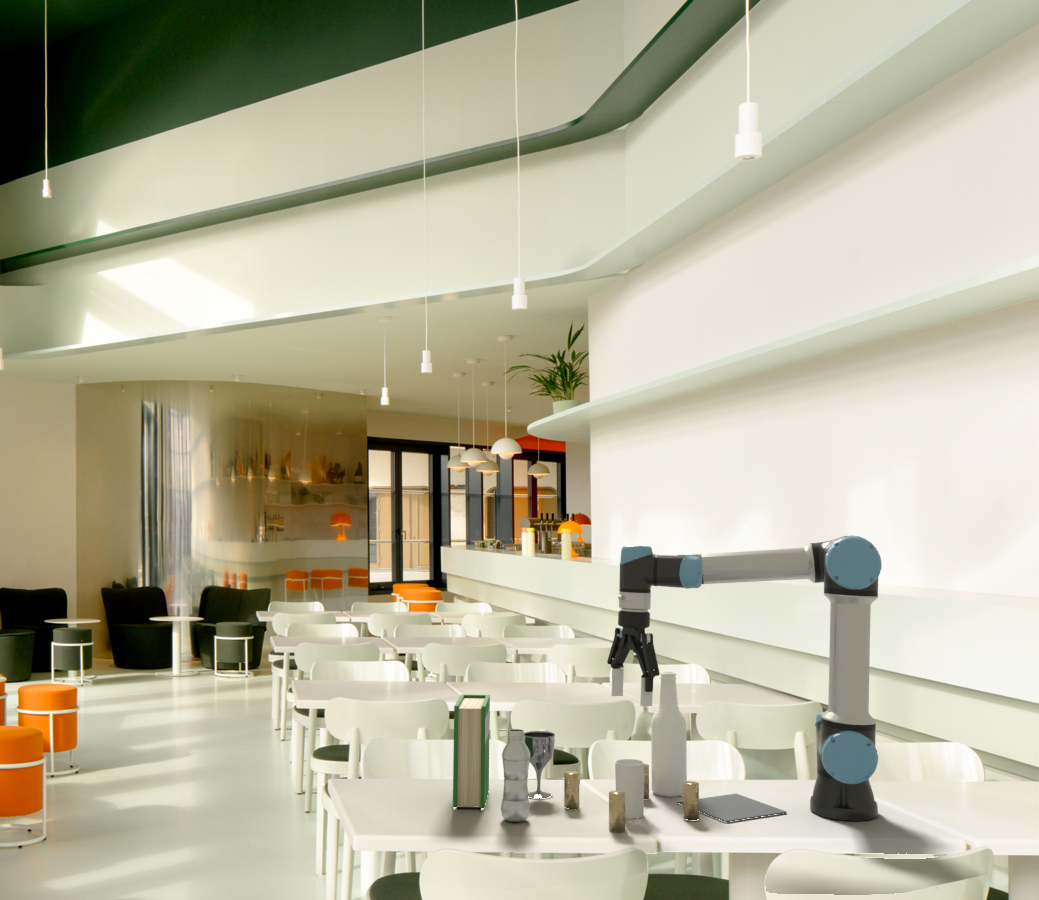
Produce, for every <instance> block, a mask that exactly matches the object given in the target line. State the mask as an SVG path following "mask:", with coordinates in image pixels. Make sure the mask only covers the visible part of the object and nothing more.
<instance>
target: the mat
mask: <svg viewBox="0 0 1039 900" xmlns="http://www.w3.org/2000/svg"><path fill="white" fill-rule="evenodd" d="M678 803H680V804H682V805H683V800H682V801H681V800H680V801H677V804H678ZM682 805H681V806H682ZM699 811H700V812H702V813H705V814H707V815H709V816H712V817H714V818H717V819H720V820H722V821H725V822H730V821H735V820H742V819H747V818H755V817H761V816H768V815H774V814H782V815H784V814H783V813H788V812H787V810H784V809H780V808H777V807H776V806H775V807H774V806H772V805H769V804H767V803H764V802H760V801H759V800H756V799H752V798H750V797H747V796H744V795H741V794H739V793H731V794H730V793H729V794H724V795H715V796H709V797H702V798H699ZM709 816H708V817H709ZM714 818H713V819H714Z"/></svg>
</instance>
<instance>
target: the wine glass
mask: <svg viewBox="0 0 1039 900" xmlns="http://www.w3.org/2000/svg"><path fill="white" fill-rule="evenodd" d="M524 736H525V739H523V741H524V743H525V744H526V746H527V747H528V749H529V751H530V762H529V764H531V766H532V767H533V769H534V770H535V774H536V791H532V792H528V796H529V797H532V798H539V799H540V798H547V797H549V796H551V794H552V793H549V792H545V791H542V790H541V779H542V773H543V771H544V768H545V767H546V766H547V765H548V764H549V762H550V761H551V759H552V758H553V755H554V751H555V745H556V743H555V741H556V735H555V733H554V732H552V731H545V730H533V731H526V732H525V731H524Z"/></svg>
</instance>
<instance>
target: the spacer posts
mask: <svg viewBox="0 0 1039 900" xmlns="http://www.w3.org/2000/svg"><path fill="white" fill-rule="evenodd" d="M563 773H564V774H563V776H564V777H563V778H564V779H563V785H564V786H563V787H564V788H563V789H564V790H563V792H564V793H563V795H564V796H563V798H564V799H563V802H564V803H563V808H564V807H566V808H569V809H576V810H578V808H579V809H580V772H579V771H575V770H573V771H571V770H570V771H569V770H568V771H565V772H563ZM644 799H648V800H649V799H650V765H649V764H648V763H644ZM699 799H700V783H699V782H697V781H693V780H691V781H690V780H687V781H685V782H683V796H682V801H683V806H682V811H683V812H682V813H683V814H682V816H683V817H682V818H684V819H688V820H697V819H699V820H700V813H699ZM569 809H568V810H569ZM684 819H683V820H684ZM626 829H627V828H626V818H625V792H623V791H616V790H609V792H608V831H609V832H611V833H615V834H617V833H618V834H621V833H625V832H626Z"/></svg>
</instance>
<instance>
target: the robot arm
mask: <svg viewBox="0 0 1039 900" xmlns="http://www.w3.org/2000/svg"><path fill="white" fill-rule="evenodd" d="M620 551H621V552H620V561H619V562H620V563H619V589H618V591H619V593H618V595H619V596H618V607H619V609H621V610H618V615H617V616H618V617H617V619H618V620H617V624H618V626H619V627H615V629H614V636H613V641H612V644H611V648H610V650H609V654H608V658H607V661H606V662H607V664H608V665H610V668H612V670H611V671H612V675H611V676H612V677H611V680H612V681H611V696H612V697H623V696H624V673H625V672H624V671H625V670H624V668H625V666H624V663H625V661H626V659H627V658H628V655H629V653H630V651H632V652H633V653H634V654H635V655H636V658H637V661H638V663H639V666H640V669H641V673H642V675H641V676H640V705H639V706H640V707H652V706H653V696H654V695H653V692H654V691H653V690H654V678H655V677H658V676H660V675H661V674H660V669H659V664H658V660H657V655H656V649H655V645H654V635H653V633H646V629H647V628H649V627H650V625H651V624H650V623H651V613H650V612H649V611H650V609H651V601H652V599H651V596H652V595H651V594H652V590H651V588H652V587H665V588H667V587H668V588H680V589H686V590H687V589H699V588H701V586H702V585H712V584H713V585H714V584H716V585H717V584H735V583H751V582H752V583H754V582H756V583H757V582H772V581H792V580H794V581H795V580H808V581H810V582H812V583H813V584H817V583H818V584H819V583H823V595H824V596H825V597H826V598H827V600H829V602H830V611H829V612H830V614H829V615H830V617H829V619H830V622H829V652H828V653H829V655H828V656H829V657H828V661H829V663H828V702H827V703H828V704H827V705H828V707H827V709H826V710H825V711H821V712H818V713H816V716H815V721H814V722H815V723H814V726H815V736H816V737H815V741H816V744H815V745H816V780H815V784H814V785H813V787H814V788H813V792H812V796H810V799H809V807H810V809H809V810H810V811H811V812H812V813H813V812H814V813H813V814H815V815H817V814H818V815H817V816H820V815H821V816H820V817H823V818H826V817H827V818H826V819H831V818H832V820H837V819H838V820H840V821H846V820H849V822H861V821H862V822H864V820H865V821H871V820H874V819H877V818H878V816H879V807H878V803H877V801H876V799H875V796H874V791H873V790H872V786H871V782H870V778H871V777H872V776H873V775H874V774H875V772H876V769H877V767H878V763H879V755H878V750H877V747H876V725H877V723H876V720H875V718H873V717H872V715H871V714H870V712H869V711H870V709H869V707H870V705H869V704H870V659H871V658H870V656H871V655H870V654H871V651H870V650H871V609H872V608H871V606H872V604H873V603H874V602H875V601H876V600H877V599H878V598H879V577H880V574H881V571H882V566H883V565H882V558H881V555H880V552H879V551H878V549H877V548H876V546H875V545H874V544H873V543H872V542H871V541H869V540H867V539H866V538H864V537H861V536H858V535H845V536H841V537H840V536H839V537H838V538H834V539H831V540H826V541H819V542H810V543H808V544H807V545H806V547H793V548H778V549H760V550H745V551H744V550H743V551H731V552H729V551H728V552H727V551H726V552H714V553H712V552H711V553H700V554H699V553H698V554H697V553H696V554H677V555H675V554H674V555H671V554H670V555H666V554H664V555H663V554H662V555H661V554H655V553H654V552H653V549H652V546H648V545H628V544H627V545H626V544H625V545H624V546H622V547H621V550H620ZM870 819H871V820H870Z"/></svg>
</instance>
